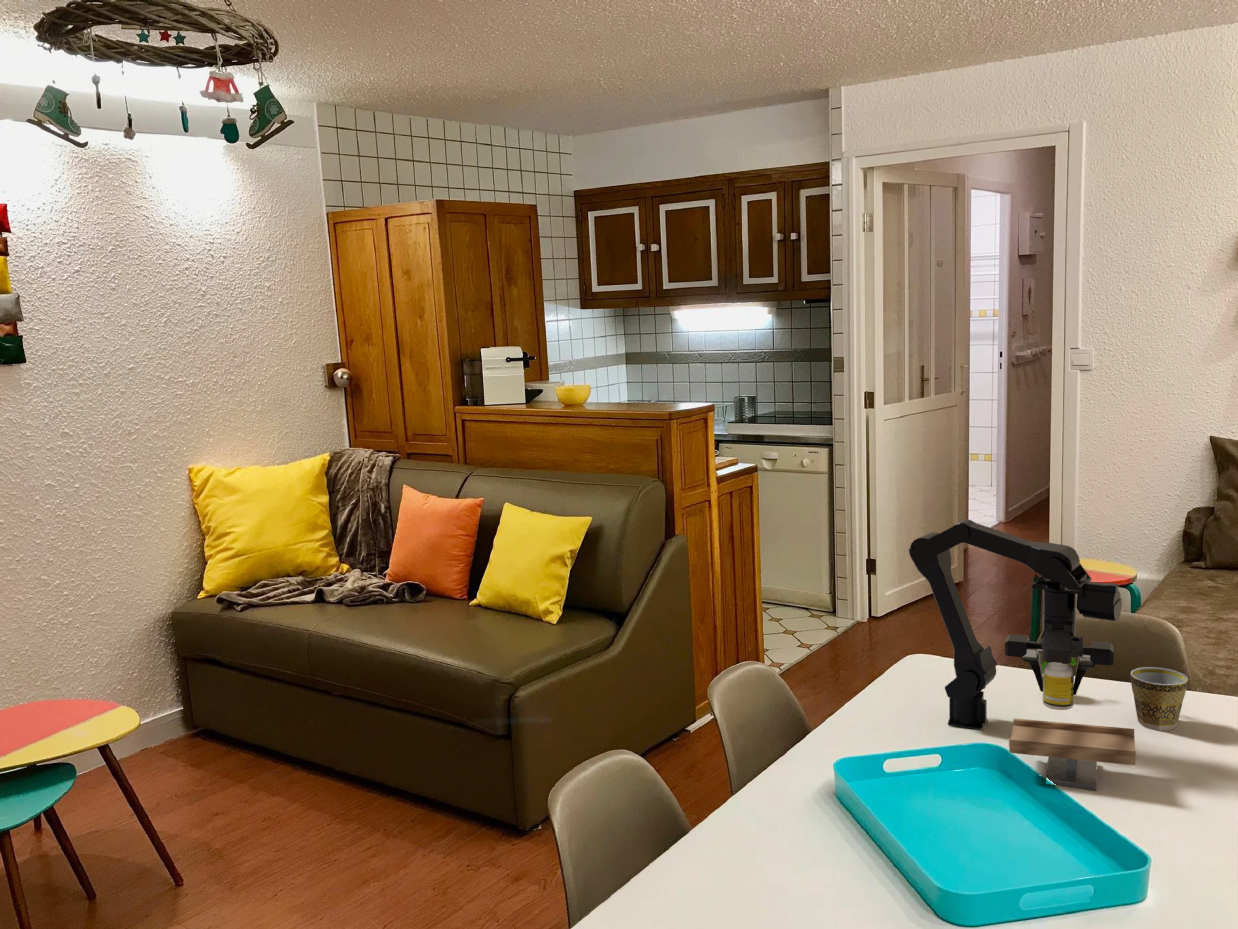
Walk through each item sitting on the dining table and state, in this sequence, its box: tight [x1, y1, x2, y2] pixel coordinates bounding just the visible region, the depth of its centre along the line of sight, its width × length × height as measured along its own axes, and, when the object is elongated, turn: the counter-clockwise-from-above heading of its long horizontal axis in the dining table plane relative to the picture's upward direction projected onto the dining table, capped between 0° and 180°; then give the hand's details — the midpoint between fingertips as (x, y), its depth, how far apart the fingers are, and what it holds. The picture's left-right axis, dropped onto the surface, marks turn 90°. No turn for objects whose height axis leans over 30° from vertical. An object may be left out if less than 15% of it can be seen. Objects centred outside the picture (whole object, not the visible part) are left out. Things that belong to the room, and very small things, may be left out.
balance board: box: [1008, 717, 1137, 767], centre depth 182 cm, size 20×10×2 cm, turn 65°
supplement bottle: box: [1042, 662, 1075, 711], centre depth 194 cm, size 5×5×10 cm
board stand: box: [1045, 757, 1098, 792], centre depth 182 cm, size 8×11×4 cm
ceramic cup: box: [1129, 666, 1189, 732], centre depth 202 cm, size 13×10×10 cm
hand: (1058, 692), depth 195 cm, fingers closed on supplement bottle, 5 cm apart
